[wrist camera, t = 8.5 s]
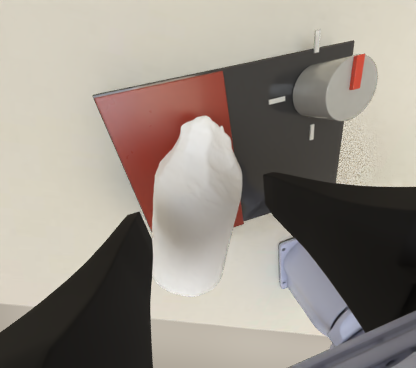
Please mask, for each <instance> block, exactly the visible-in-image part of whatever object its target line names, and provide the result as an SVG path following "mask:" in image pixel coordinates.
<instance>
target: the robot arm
mask: <svg viewBox="0 0 416 368" xmlns="http://www.w3.org/2000/svg"><path fill="white" fill-rule="evenodd" d="M263 183H264V197H265V205H266V206H267V208H268V209H269V210H270V212H271V213H272V214H273V216H274V217H275V218H276V219H277V220H278V221H279V222H280V223H281V224H282V225H283V227H284V228H285V229H286V230H287V231H288V232H289V233H290V234H291V235H292V236H293V237H294V238H293V239H291V240H288V241H285V242H282V243H280V245H279V267H280V287H281V288H282V289H285V288H287V287H288V288H289V290H290V291H291V293H292V294H293V296H294V297H295V299H296V300H297V302H298V303H299V305H300V306H301V307H302V309H303V310H304V312H305V313H306V315H307V316H308V318H309V319H310V321H311V322H312V323H313V325H314V326H315V327H316V328H317V329H318V330H319V331H320V332H321V333H322V334H324V335H326V336H327V337H329V339H330V340H331V341H332V343H333V344H332V345H331V346H330V349H329V350H326V351H324V352H322V353H320V354H317V355H316V356H313V357H311V358H308V359H306V360H304V361H302V362H299V363H297V364H295V365H293V366H290V367H288V368H416V187H372V186H355V185H346V184H337V183H329V182H323V181H317V180H312V179H307V178H302V177H298V176H293V175H288V174H283V173H278V172H271V173H267V174H264V175H263ZM152 268H153V246H152V239H151V237H150V234H149V232H148V230H147V228H146V225H145V223H144V221H143V219H142V217H141V214H140V212H137V213H133V214H130V215H127V216H126V218H125V219H124V220H123V221H122V222H121V223H120V225H119V226H118V227H117V228H116V229H115V231H114V232H113V233H112V234H111V235H110V237H109V238H108V239H107V240H106V241H105V242H104V244H103V245H102V246H101V247H100V248H99V249H98V250H97V251H96V252H95V253H94V255H93V256H92V257H91V258H90V259H89V260H88V261H87V262H86V263H85V264H84V265H83V266H82V267H81V268H80V269H79V270H78V271H77V272H75V273H74V274H73V275H72V276H71V277H70V278H69V279H68V280H67V281H66V282H64V283H63V284H62V285H61V286H60V287H58V288H57V289H56V290H55V291H54V292H53V293H51V294H50V295H49V296H48V297H47V298H45V299H44V300H43V301H42V302H40V303H39V304H38V305H37V306H35V307H34V308H33V309H32V310H30V311H29V312H28V313H26V314H25V315H24V316H22V317H21V318H20V319H18V320H17V321H15V322H14V323H13V324H11V325H10V326H9V327H7V328H6V329H5V330H3V331H2V332H0V368H153V364H152V363H153V362H152V346H151V345H152V344H151V323H150V321H151V320H150V296H151V282H152Z"/></svg>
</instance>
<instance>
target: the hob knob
mask: <svg viewBox="0 0 416 368" xmlns="http://www.w3.org/2000/svg"><path fill="white" fill-rule="evenodd" d="M377 80H378V72H377V67H376V64H375V62H374V61H373V60H372V59H371V58H370V57H369V56H367V55H365V54H358V55H353V56H348V57H343V58H339V59H334V60H329V61H324V62H320V63H315V64H312V65H310V66H309V67H307V68H306V69H305V70H304V71H303V72H302V73H301V74H300V76H299V77H298V79H297V81H296V83H295V86H294V89H293V104H294V107H295V109H296V110H297V112H298V113H299V114H301V115H302V116H305V117H312V118H319V119H327V120H335V121H347V120H350V119H353V118H354V117H356V116H357V115H359V114H360V113H361V112H362V111H363V110H364V109H365V108H366V107H367V105H368V104H369V102H370V101H371V99H372V97H373V95H374V92H375V89H376V85H377Z"/></svg>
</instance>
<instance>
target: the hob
mask: <svg viewBox="0 0 416 368" xmlns="http://www.w3.org/2000/svg"><path fill="white" fill-rule="evenodd" d="M320 30H321V29H319V30H315V37H314V49H310V50H305V51H301V52H296V53H291V54H286V55H282V56H277V57H272V58H267V59H262V60H258V61H253V62H248V63H243V64H239V65H234V66H229V67H224V68H220V69H215V70H210V71H205V72H201V73H196V74H191V75H186V76H181V77H177V78H172V79H167V80H162V81H158V82H153V83H148V84H143V85H139V86H134V87H129V88H124V89H120V90H115V91H110V92H105V93H100V94H96V95H93V98H94V101H95V98H96V97H101V96H105V95H110V94H115V93H120V92H124V91H129V90H134V89H138V88H143V87H148V86H153V85H157V84H162V83H167V82H172V81H176V80H181V79H186V78H190V77H195V76H200V75H205V74H209V73H214V72H219V71H223V76H224V83H225V90H226V98H227V105H228V112H229V120H230V127H231V134H232V141H233V149H234V154H235V157H236V159H237V162H238V163H239V165H240V168H241V171H242V193H241V207H242V215H243V221H246V220H250V219H253V218H256V217H259V216H262V215H265V214H268V213H271V212H270V210H269V209H268V208H267V206H266V205H265V197H264V183H263V175H264V174H267V173H271V172H278V173H283V174H288V175H293V176H298V177H302V178H307V179H312V180H317V181H323V182H329V183H336V177H337V169H338V161H339V154H340V146H341V139H342V131H343V124H344V121H335V120H327V119H319V118H312V117H305V116H302V115H301V114H299V113H298V112H297V110H296V109H295V107H294V104H293V89H294V86H295V83H296V81H297V79H298V77H299V76H300V74H301V73H302V72H303V71H304V70H305V69H306V68H307V67H309V66H310V65H312V64H315V63H320V62H324V61H329V60H334V59H339V58H343V57H348V56H353V48H354V40H353V41H348V42H343V43H339V44H334V45H329V46H324V47H320V48H319V45H320ZM95 103H96V101H95ZM96 105H97V104H96ZM97 108H98V106H97ZM98 110H99V108H98ZM99 112H100V111H99ZM100 114H101V113H100ZM101 117H102V115H101ZM102 119H103V118H102ZM103 121H104V120H103ZM104 124H105V122H104ZM105 126H106V125H105ZM106 128H107V127H106ZM107 131H108V129H107ZM108 133H109V131H108ZM109 135H110V134H109ZM110 137H111V136H110ZM111 140H112V138H111ZM112 142H113V141H112ZM113 144H114V143H113ZM114 147H115V145H114ZM115 149H116V148H115ZM116 151H117V150H116ZM117 154H118V152H117ZM118 156H119V155H118ZM119 158H120V157H119ZM120 161H121V159H120ZM121 163H122V161H121ZM122 165H123V164H122ZM123 167H124V166H123ZM124 170H125V168H124ZM125 172H126V171H125ZM126 174H127V173H126ZM127 177H128V175H127ZM128 179H129V178H128ZM129 181H130V180H129ZM130 184H131V182H130ZM131 186H132V185H131ZM132 188H133V187H132ZM133 190H134V189H133ZM134 193H135V191H134ZM135 195H136V194H135ZM136 197H137V196H136ZM137 200H138V198H137ZM138 202H139V201H138ZM139 204H140V203H139ZM140 207H141V205H140ZM141 209H142V208H141ZM142 211H143V210H142ZM143 213H144V212H143ZM144 216H145V215H144ZM145 218H146V217H145ZM146 220H147V219H146ZM147 223H148V221H147ZM148 225H149V224H148ZM149 227H150V226H149ZM150 230H151V228H150ZM151 232H152V231H151Z"/></svg>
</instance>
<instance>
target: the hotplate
mask: <svg viewBox="0 0 416 368" xmlns="http://www.w3.org/2000/svg"><path fill="white" fill-rule="evenodd" d="M95 101H96V104H97V106H98V108H99V111H100V113H101V115H102V118H103V120H104V122H105V125H106V127H107V129H108V131H109V134H110V136H111V138H112V141H113V143H114V145H115V148H116V150H117V152H118V155H119V157H120V159H121V161H122V164H123V166H124V168H125V171H126V173H127V175H128V178H129V180H130V182H131V185H132V187H133V189H134V191H135V194H136V196H137V198H138V201H139V203H140V205H141V208H142V210H143V212H144V215H145V217H146V219H147V221H148V224H149V226H150V228H151V231H152V217H153V194H154V182H155V174H156V171H157V169H158V167H159V163H160V161H161V160H162V159H163V158H164V157H165V156H166V155H167V154H168V152H169V151H171V150H172V149H173V147H174V145H175V144H176V142H177V140H178V138H179V136H180V131H181V126H182V125H183V124H185V123H187V122H189V121H192V120H194V119H195V118H196V117H200V116H208V117H210V118H211V120H212V121H214V122H215V123H216V124H218V126H219V127H220V126H223V128H224V132H225V133H226V134H227V135H228V136H229V137H230V139H231V144H232V150H233V152H234V149H233V141H232V134H231V127H230V120H229V112H228V105H227V98H226V90H225V83H224V76H223V71H219V72H214V73H209V74H205V75H200V76H195V77H190V78H186V79H181V80H176V81H172V82H167V83H162V84H157V85H153V86H148V87H143V88H138V89H134V90H129V91H124V92H120V93H115V94H110V95H105V96H101V97H96V98H95ZM242 224H244V222H243V215H242V207H241V200H240V203H239V207H238V211H237V215H236V219H235V223H234V227H236V226H239V225H242Z"/></svg>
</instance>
